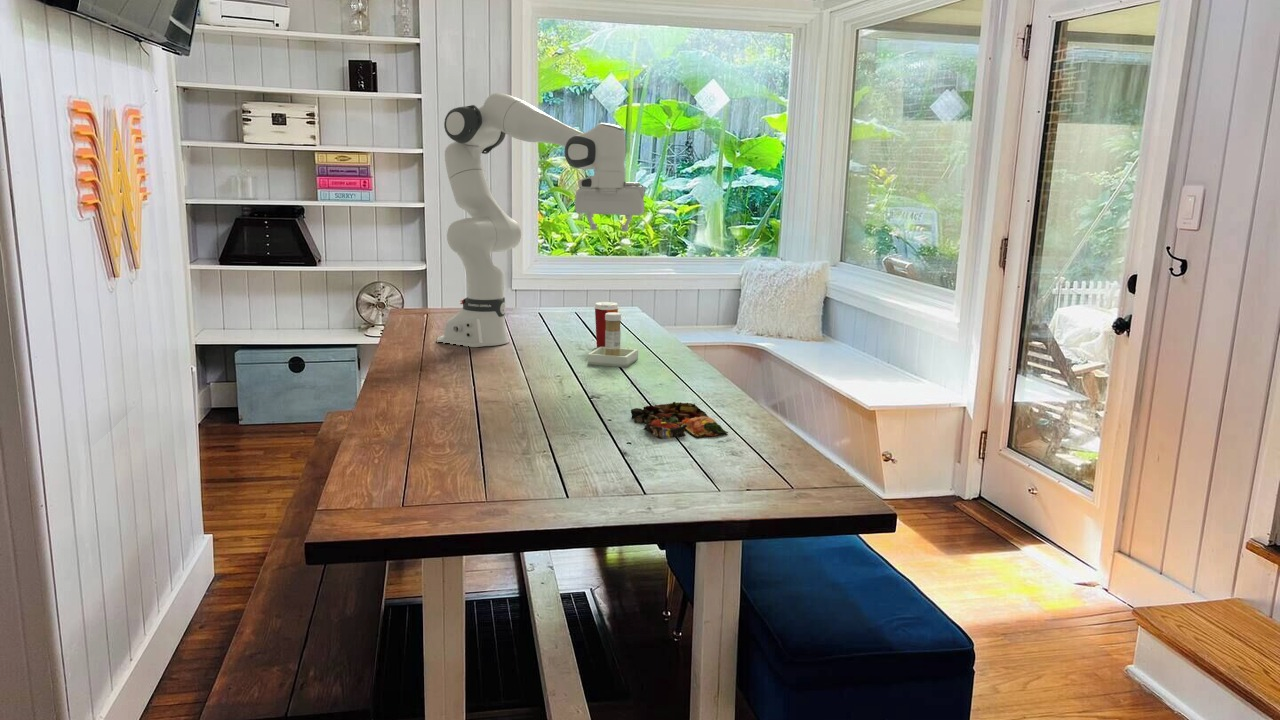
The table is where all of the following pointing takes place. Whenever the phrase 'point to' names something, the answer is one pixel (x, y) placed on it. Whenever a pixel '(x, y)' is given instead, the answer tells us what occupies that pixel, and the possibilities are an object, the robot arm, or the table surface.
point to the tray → (613, 357)
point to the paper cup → (603, 320)
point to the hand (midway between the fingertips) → (609, 230)
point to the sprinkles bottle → (612, 334)
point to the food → (676, 421)
